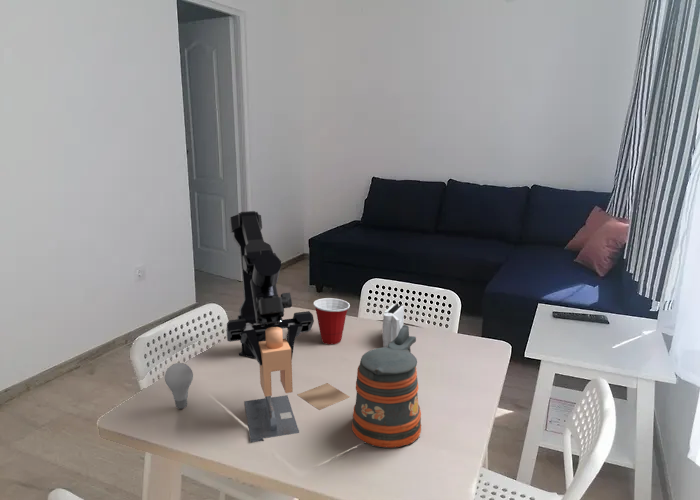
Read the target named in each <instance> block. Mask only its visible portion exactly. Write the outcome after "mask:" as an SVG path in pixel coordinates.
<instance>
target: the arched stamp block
mask: <svg viewBox="0 0 700 500" xmlns="http://www.w3.org/2000/svg"><path fill="white" fill-rule="evenodd" d="M265 334H266V341H261V342H258V344H259V349H260V353H261V357H262V365H261V366H260V364H259V363H258V364H259V379H260V380H259V383H260V387H261V390H262V393H263V396H264V398H265V397H266V396H271V397H273V396H272V395H273V392H272V391H273V390H272V372H279V376H280V380H279V381H280V383H281V386H282V387H283V388H282V389H283V390H284V393H285V394H289V393H293V389H294V387H293V364H292V363H293V356H292V357H291V348H290V346H289V344H288V342H287V337H286V338H285V337H284V335H283V334H284V333H283V329H282V328H280V327H270V328H267V329H266V330H265ZM283 337H284V338H283Z"/></svg>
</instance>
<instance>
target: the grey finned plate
mask: <svg viewBox="0 0 700 500" xmlns="http://www.w3.org/2000/svg"><path fill="white" fill-rule="evenodd" d="M244 407H245V413H246V414H245V415H246V420H247V426H248V427H247V428H248V434H249V439H250V443H255V442H256V443H257V442H261V441H264V439H268V438H275V437H280V436H281V437H283V436H287V435H294V434H300V430H299V427H298V424H297V421H296V418H295V415H294V412H293V409H292V405H291V402H290V399H289V396H288V395H279V396H266V397H265V396H264V398H258V399H251V400H245V401H244Z"/></svg>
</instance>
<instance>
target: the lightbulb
mask: <svg viewBox="0 0 700 500" xmlns="http://www.w3.org/2000/svg"><path fill="white" fill-rule="evenodd" d="M193 378H194V373H193V370H192V368H191V366H189V365H188V364H186V363H184V362H175V363H173V364H171V365H170V366H169V367H168V368H167V369H166V370H165V373H164V382H165V384H166V386H167V387H168V389H169V390H170V391H171V393H172V397H173V400H174V404H175V408H176V409H179V410H183V409H185V408H186V407H187V405H188V395H189V389H190V386H191V384H192V383H193Z"/></svg>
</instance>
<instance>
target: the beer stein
mask: <svg viewBox="0 0 700 500" xmlns="http://www.w3.org/2000/svg"><path fill="white" fill-rule="evenodd" d="M409 329H410V328H409V325H408V324H403V326H402V328H401V329H400V331H399V333H398V336H397V337H396V338H395V339H394V340H393V341H392V342H391V343H389V344H388V347H383V346H382V347H379V348H378V347H377V348H374V349H371V350H368V351H366V352H365V353H364V354H362V356H361V358H360V361H359V362H360V363H359V365H358V367H357V372H356V381H355V390H356V397H355V403H354V406H353V410H352V411H353V412H352V424H351V430H352V432H353V433H354V435H355V436H356V437H357V438H359V439H360V440H361V441H362V442H363V443H365V444H367V445H369V446H372V447H376V448H382V449H383V448H389V449H391V448H392V449H394V448H395V449H397V448H400V447H401V448H402V447H404V446H407V445H410V444H412V443H414V442H416V440H418V439H419V437H420V435H421V433H422V422H421V420H422V411H421V407H420V404H419V395H418V394H419V393H418V392H419V380H418V371H417V365H418V359H417V357H416V356H415V355H414V354H413V353H412V351H411V346H412V345H414V343H416V341H417V337H416V336H412V335H410V330H409Z"/></svg>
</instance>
